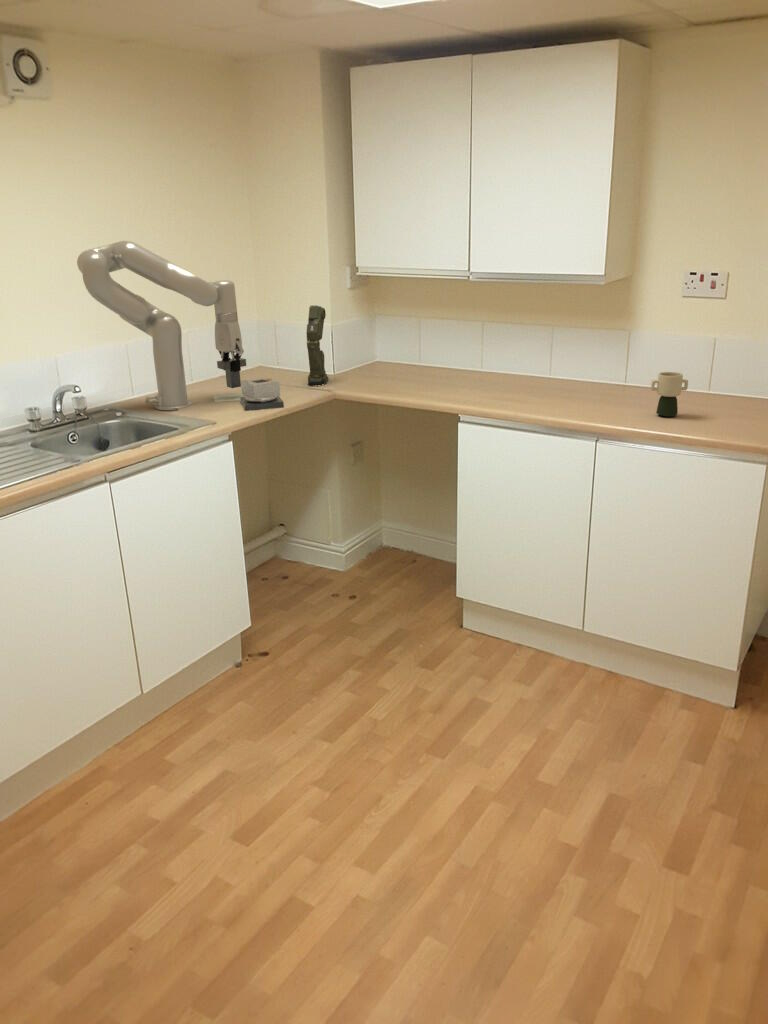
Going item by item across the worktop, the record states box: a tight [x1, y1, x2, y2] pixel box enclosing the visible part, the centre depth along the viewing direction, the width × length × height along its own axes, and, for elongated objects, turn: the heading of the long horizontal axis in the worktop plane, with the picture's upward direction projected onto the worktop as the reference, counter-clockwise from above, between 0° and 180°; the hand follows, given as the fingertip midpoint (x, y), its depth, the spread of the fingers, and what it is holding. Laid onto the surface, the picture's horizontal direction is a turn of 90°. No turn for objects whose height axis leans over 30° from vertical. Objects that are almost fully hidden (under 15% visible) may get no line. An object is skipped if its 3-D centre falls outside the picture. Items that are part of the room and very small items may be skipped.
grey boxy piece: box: [240, 377, 281, 402], centre depth 283 cm, size 11×11×6 cm
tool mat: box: [212, 393, 245, 403], centre depth 295 cm, size 12×10×1 cm
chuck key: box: [216, 357, 247, 389], centre depth 292 cm, size 9×4×9 cm, turn 130°
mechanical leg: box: [305, 305, 329, 386], centre depth 314 cm, size 14×7×30 cm, turn 168°
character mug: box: [650, 371, 689, 417], centre depth 253 cm, size 11×7×13 cm, turn 87°
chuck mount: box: [239, 396, 285, 412], centre depth 284 cm, size 13×13×2 cm
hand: (232, 370), depth 292 cm, fingers closed on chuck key, 4 cm apart
